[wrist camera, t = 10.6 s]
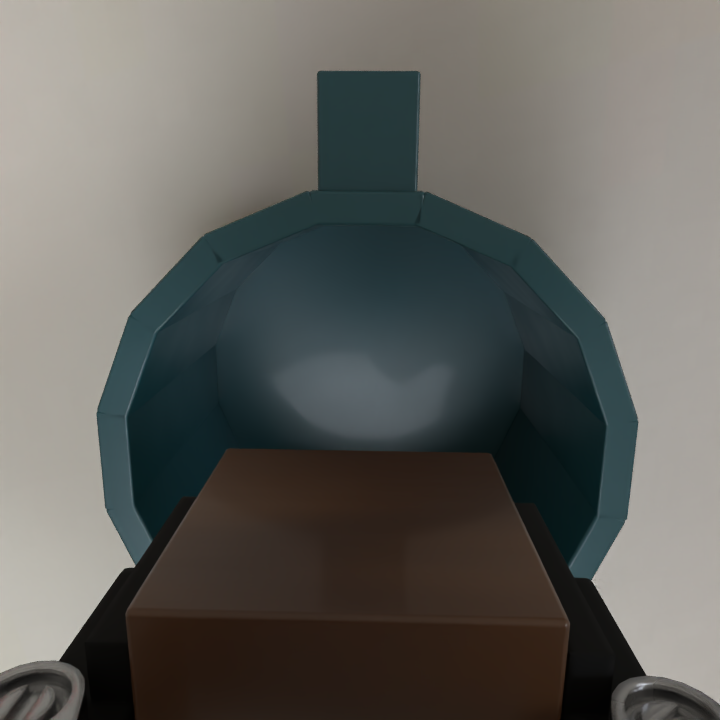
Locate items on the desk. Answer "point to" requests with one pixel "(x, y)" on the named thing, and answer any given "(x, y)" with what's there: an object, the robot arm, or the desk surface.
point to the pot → (371, 342)
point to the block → (349, 595)
